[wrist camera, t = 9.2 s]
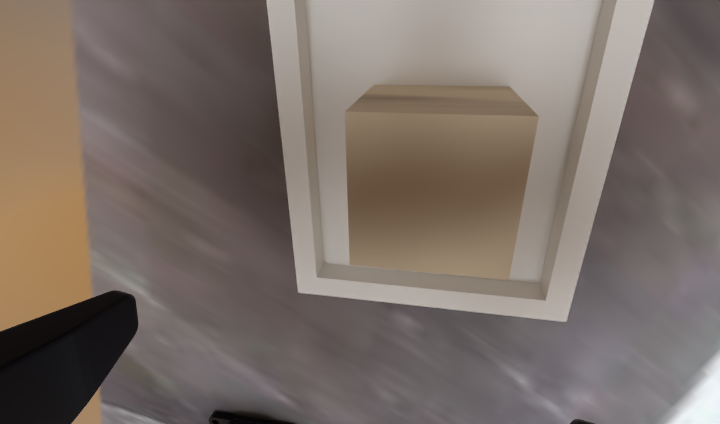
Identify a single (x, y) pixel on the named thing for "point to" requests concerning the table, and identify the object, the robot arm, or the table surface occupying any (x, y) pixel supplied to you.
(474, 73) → the tray
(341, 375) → the table surface
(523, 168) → the maple block
